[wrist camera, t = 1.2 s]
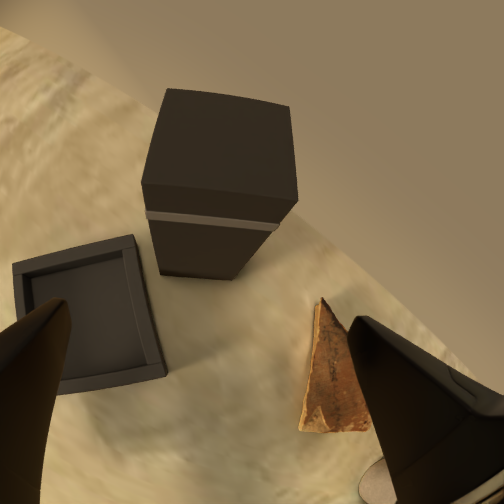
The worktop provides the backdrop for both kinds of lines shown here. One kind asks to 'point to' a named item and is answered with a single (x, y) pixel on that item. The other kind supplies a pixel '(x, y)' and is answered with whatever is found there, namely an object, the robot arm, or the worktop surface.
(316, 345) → the shard
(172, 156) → the dark banded block
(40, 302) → the base pad
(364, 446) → the worktop surface
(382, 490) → the house plant
